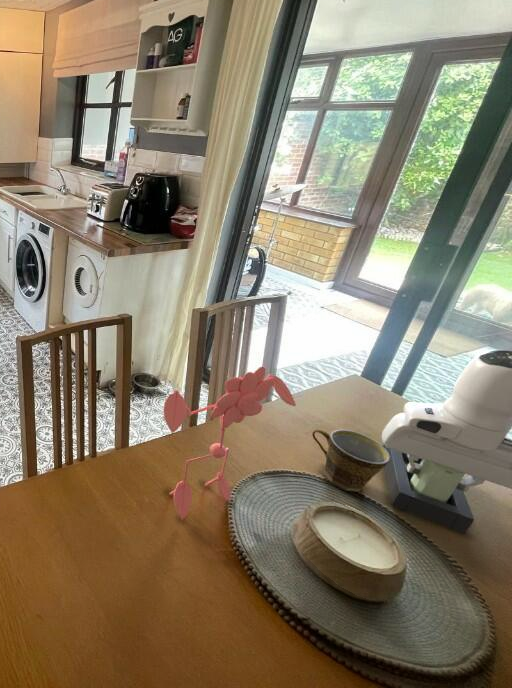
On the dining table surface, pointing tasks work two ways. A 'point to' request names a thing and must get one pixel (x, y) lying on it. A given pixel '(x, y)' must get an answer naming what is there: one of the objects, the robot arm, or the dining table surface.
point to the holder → (424, 497)
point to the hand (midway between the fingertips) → (434, 479)
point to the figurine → (223, 422)
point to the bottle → (435, 481)
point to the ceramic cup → (352, 458)
